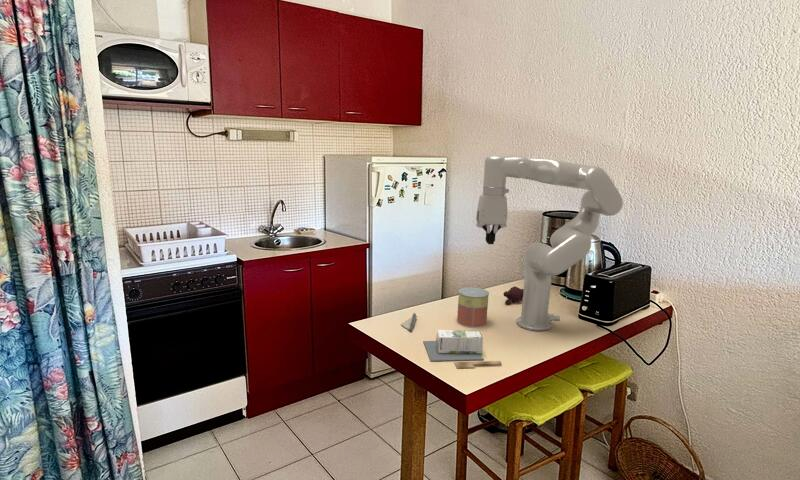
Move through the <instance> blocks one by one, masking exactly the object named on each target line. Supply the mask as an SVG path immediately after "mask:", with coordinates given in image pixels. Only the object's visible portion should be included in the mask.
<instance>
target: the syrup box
mask: <svg viewBox="0 0 800 480" xmlns="http://www.w3.org/2000/svg"><path fill="white" fill-rule="evenodd" d="M435 337H436V339H435V341H436V345H437V349H438V353H458V354H481V355H483V348H484V338H483V334H482V333H481V331H480V330H466V329H465V330H460V329H459V330H458V329H455V330H454V329H437V331H436V336H435Z"/></svg>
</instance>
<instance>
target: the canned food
mask: <svg viewBox="0 0 800 480" xmlns="http://www.w3.org/2000/svg"><path fill="white" fill-rule="evenodd" d="M489 294H490V293H489V291H488V290H486V289H484V288H481V287H475V286H474V287H473V286H468V287H467V286H466V287H462V288H460V289H458V301H457V316H456V317H457V318H456V322H457V323H458V324H459V325H461V326H462V327H466V328H476V329H477V328H482V327H484V326H486V325H487V320H488V305H489V296H490V295H489Z"/></svg>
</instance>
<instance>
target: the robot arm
mask: <svg viewBox="0 0 800 480" xmlns="http://www.w3.org/2000/svg"><path fill="white" fill-rule="evenodd" d="M483 171H484V172H483V184H482V185H483V186H482V187H483V188H482V194H480V195H479V198H478V203H477V209H476V214H475V215H476V217H475V221H476V224H475V226H476V227H477V228H479V229H480V228H481V229H483V230H484V231H485V242H486V244H488V245H494V243H495V242H496V234H497V233H498V231H499V230H501V229H504V228H506V227H507V223H508V199H507V196H506V194H509V192H510V188H506V184H507V183H506V181H507V177H508V178H514V179H524V180H525V179H526V180H531V181H535V182H538V183H542V184H547V185H553V186H560V187H566V188H574V189H579V190H586V191H585V192H584V194H582V196H581V200H580V208H579V211H578V213H577V215H576V216H574V217H573V218H572V219H571V220H569V221H568V222H567V223H565V224H563V226H561V227H559V228H557V230H555V231H554V232H553V233H552V234H551V236H550V238H549V243H550V245H549V244H547V243H543V242H532V243H531V244H529V245H528V246H527V248H526V250H525V251H524V257H523V259H524V283H523V289H524V292H523V299H522V305H521V314H520V316H518V317H517V318H516V324H517V325H518V326H519V327H521V328H523V329H525V330H529V331H535V332H541V331H542V332H543V331H548V330H550V329H551V327H552V323H551V322H560V321H561V317H560V315H554V313H549V306H550V298H551V297H550V296H551V287H552V277H554V276H555V277H556V276H558V275H560V274H563V273H564V272H566V271H568V270H569V269H570V268H571V267H573V266H575V264H577V263H578V262H580V261H581V260H583V259H585V257H586V256H587V255H588V254H589V252H590V250H591V247H592V240H591V239H590V236H591V235H592V234H594V233H595V232H596V231H597V228H598V226H599V222H600V217H601V216H600V215H604V216H609V217H610V216H615V215H617V214H619V213H620V211H621V210H622V208H623V203H624V200H623V197H622V194H621V193H620V191H619V190H618V188H617V186H616V185H615V184H614V182H613V180H612V178H610V176H609V174H608V173H607V172H606V170H604V169H603V168H602V167H600V166H595V165H587V164H585V165H584V164H581V163H575V162H567V161H561V160H556V159H541V158H540V159H537V158H529V157H526V156H522V155H513V154H511V155H510V154H509V155H505V156H503V155H488V156H486V157H485V160H484V169H483ZM491 225H492V226H491Z"/></svg>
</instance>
